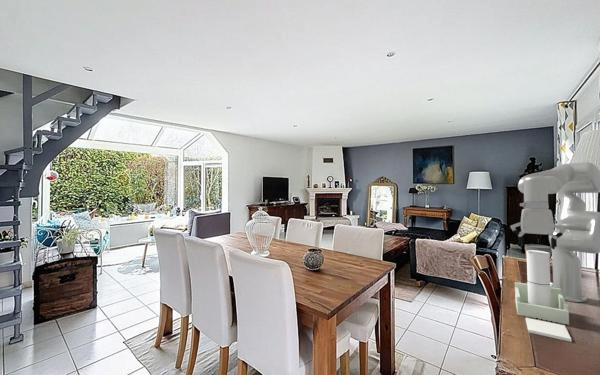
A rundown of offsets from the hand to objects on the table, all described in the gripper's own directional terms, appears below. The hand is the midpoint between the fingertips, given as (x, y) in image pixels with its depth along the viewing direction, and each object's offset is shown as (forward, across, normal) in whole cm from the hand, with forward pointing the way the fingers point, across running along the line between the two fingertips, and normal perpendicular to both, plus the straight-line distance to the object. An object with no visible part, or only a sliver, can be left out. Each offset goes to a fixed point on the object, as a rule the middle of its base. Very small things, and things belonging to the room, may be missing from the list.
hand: (537, 247), depth 111 cm
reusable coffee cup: (+26, +7, +76) cm, 81 cm away
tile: (+27, 0, -16) cm, 32 cm away
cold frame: (+27, 0, +1) cm, 27 cm away
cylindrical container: (+27, 0, +1) cm, 27 cm away
